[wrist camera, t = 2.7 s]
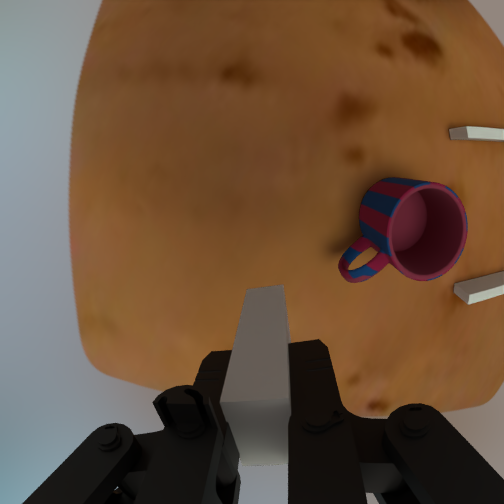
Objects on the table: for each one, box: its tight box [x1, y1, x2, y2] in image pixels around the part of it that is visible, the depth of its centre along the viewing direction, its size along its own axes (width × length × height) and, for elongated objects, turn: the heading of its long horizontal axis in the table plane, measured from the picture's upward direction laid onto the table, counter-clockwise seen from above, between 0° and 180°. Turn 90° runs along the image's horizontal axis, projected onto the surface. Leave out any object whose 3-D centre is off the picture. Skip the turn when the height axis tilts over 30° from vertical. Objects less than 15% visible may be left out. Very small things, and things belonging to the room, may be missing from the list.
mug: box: [338, 177, 467, 283], centre depth 20 cm, size 7×10×7 cm
